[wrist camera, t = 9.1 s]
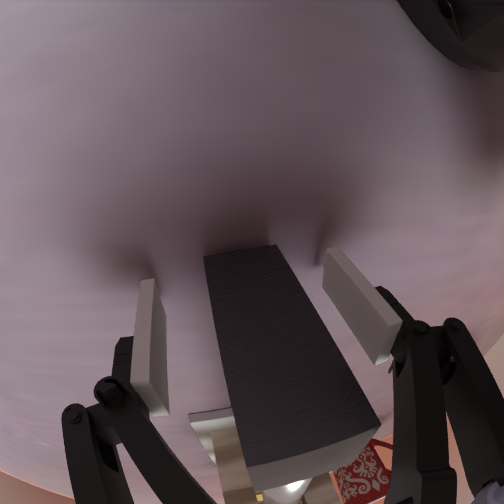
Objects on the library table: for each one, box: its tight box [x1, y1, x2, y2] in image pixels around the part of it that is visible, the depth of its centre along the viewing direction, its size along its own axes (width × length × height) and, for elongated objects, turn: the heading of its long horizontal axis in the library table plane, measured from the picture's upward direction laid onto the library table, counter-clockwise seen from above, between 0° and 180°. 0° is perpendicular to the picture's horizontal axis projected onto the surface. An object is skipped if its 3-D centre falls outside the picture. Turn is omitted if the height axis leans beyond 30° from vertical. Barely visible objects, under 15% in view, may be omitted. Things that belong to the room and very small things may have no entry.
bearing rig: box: [189, 408, 342, 504], centre depth 25 cm, size 20×13×14 cm, turn 4°
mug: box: [333, 438, 393, 504], centre depth 34 cm, size 13×9×14 cm
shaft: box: [203, 245, 381, 504], centre depth 17 cm, size 24×4×11 cm, turn 4°
